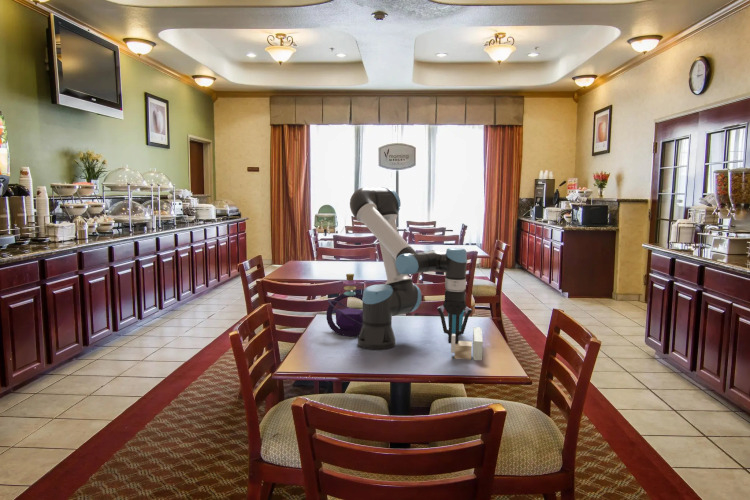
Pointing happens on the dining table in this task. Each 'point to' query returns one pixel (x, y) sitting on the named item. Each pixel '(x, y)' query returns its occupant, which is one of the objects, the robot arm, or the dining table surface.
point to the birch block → (463, 350)
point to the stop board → (477, 343)
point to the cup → (455, 322)
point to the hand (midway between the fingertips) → (453, 351)
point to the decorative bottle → (346, 312)
